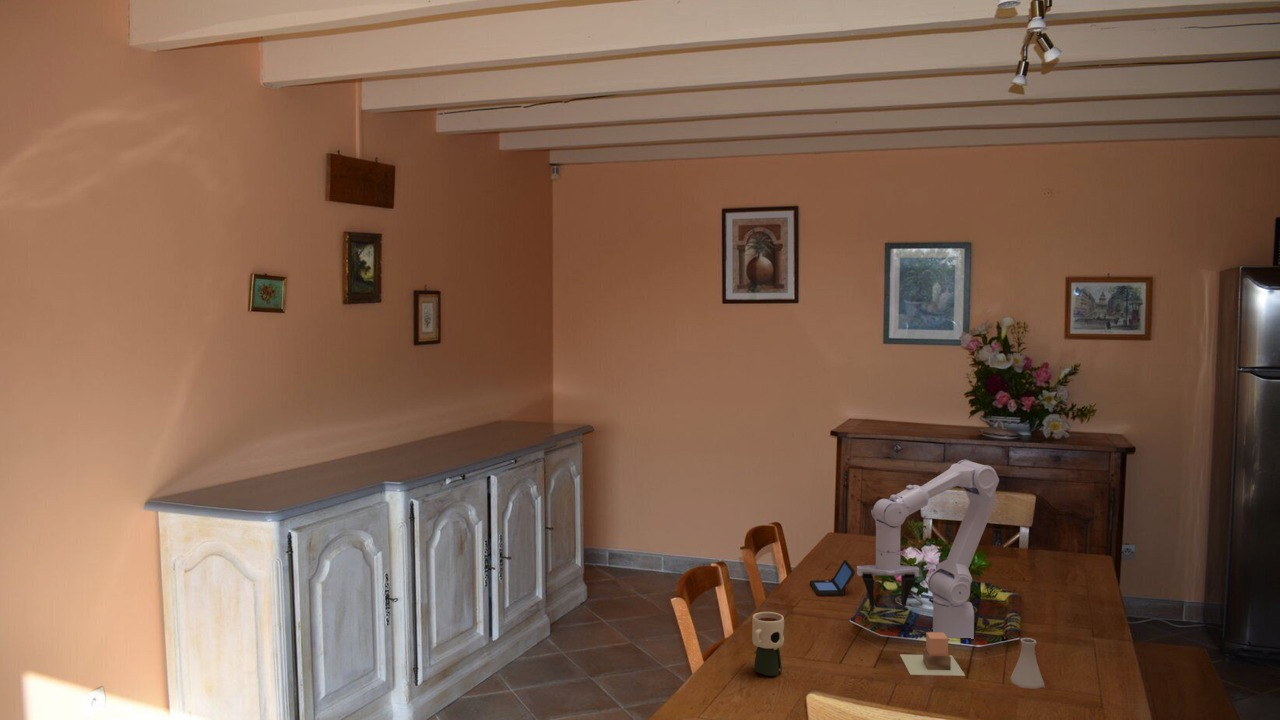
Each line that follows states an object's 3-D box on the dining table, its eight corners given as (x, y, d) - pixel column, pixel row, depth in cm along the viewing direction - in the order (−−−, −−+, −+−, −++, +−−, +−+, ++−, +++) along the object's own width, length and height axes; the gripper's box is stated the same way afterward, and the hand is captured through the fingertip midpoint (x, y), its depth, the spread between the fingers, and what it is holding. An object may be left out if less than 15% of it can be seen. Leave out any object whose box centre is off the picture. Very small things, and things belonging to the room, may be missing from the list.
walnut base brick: (945, 661, 226) (945, 648, 226) (950, 670, 221) (950, 657, 221) (923, 661, 226) (923, 648, 226) (927, 669, 221) (928, 656, 221)
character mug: (769, 684, 215) (769, 626, 214) (741, 676, 220) (741, 620, 219) (793, 669, 224) (793, 613, 223) (766, 661, 228) (766, 607, 227)
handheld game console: (808, 584, 288) (809, 559, 288) (845, 583, 288) (845, 558, 288) (817, 597, 276) (817, 571, 275) (855, 597, 276) (855, 571, 275)
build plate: (951, 657, 230) (951, 655, 230) (965, 678, 218) (965, 675, 218) (899, 656, 231) (899, 654, 231) (910, 677, 219) (910, 674, 219)
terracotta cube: (943, 649, 225) (943, 632, 225) (947, 656, 221) (948, 638, 221) (925, 649, 226) (926, 632, 225) (929, 655, 222) (930, 638, 221)
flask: (1003, 679, 217) (1004, 635, 217) (1035, 677, 218) (1036, 633, 217) (1019, 692, 210) (1020, 646, 209) (1051, 691, 211) (1052, 645, 210)
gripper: (860, 553, 233) (859, 609, 234) (922, 554, 232) (921, 610, 233) (855, 545, 240) (855, 600, 241) (915, 546, 239) (915, 600, 240)
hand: (887, 604), depth 238 cm, fingers open, 7 cm apart
